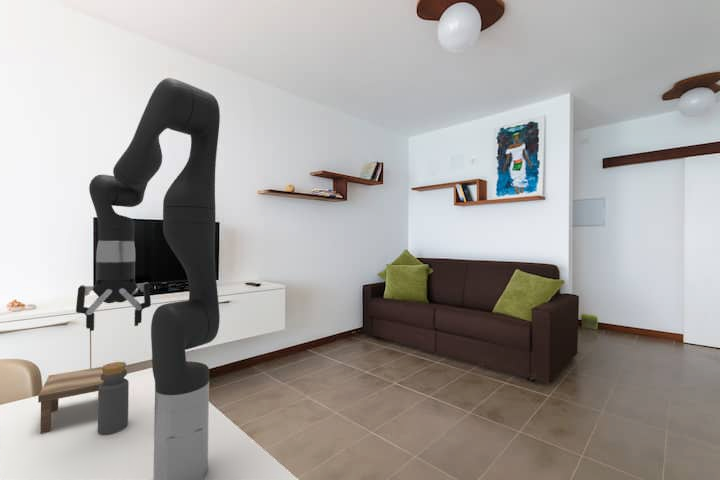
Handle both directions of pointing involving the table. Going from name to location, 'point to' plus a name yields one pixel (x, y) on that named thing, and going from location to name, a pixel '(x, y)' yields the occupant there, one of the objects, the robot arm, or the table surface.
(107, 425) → the bottle
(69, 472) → the table surface
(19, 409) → the table surface
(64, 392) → the wooden bench
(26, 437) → the table surface
